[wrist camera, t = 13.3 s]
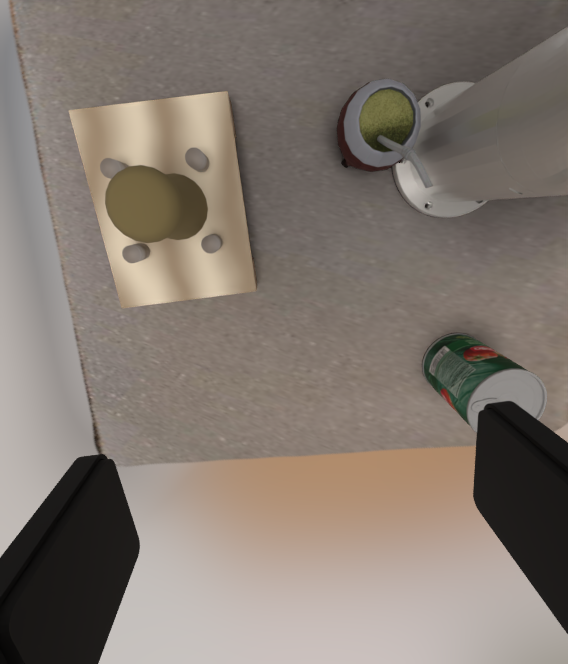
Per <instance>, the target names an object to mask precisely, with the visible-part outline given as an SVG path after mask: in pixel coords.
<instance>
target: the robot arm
mask: <svg viewBox="0 0 568 664" xmlns="http://www.w3.org/2000/svg"><path fill="white" fill-rule="evenodd" d="M425 103H427V104H428V107H426V106H425ZM418 105H419V107H420V111H421V128H420V131H419V134H418V137H417V140H416V143H415V144H414V146H413V147H412V148H413V149H414V150H415V152H416V155H417V156H418V158H419V159H420V161H421V162H422V164H423V166H424V168H425V170H426V172H427V174H428V176H429V178H430V180H431V182H432V184H433V186H432V187H429V188H425V186H424V184H423V182H422V180H421V178H420V176H419V174H418V172H417V171H416V169H415V167H414V166H413V164H412V163H411V161H407V160H406V159H403V160H402V161H401V163H399V162H398V163H397V164H395V165H393V166H392V169H393V176H394V179H395V182H396V185H397V188H398V190H399V191H400V193H401V195H402V196H403V198H404V199H405V200H406V201H407V202H408V203H409V204H410V206H412V207H413V208H415V209H416V210H417V211H419V212H421V213H423V214H426V215H428V216H433V217H438V218H450V217H458V216H462V215H465V214H468V213H470V212H472V211H474V210H476V209H478V208H480V207H481V206H482V205H484V204H485V203H486V202H487V201H489V200H498V199H514V198H530V197H547V196H561V195H568V27H566V28H564V29H563V30H561V31H560V32H558V33H556V34H555V35H553V36H551V37H550V38H548V39H547V40H545V41H544V42H542V43H540V44H539V45H537V46H535V47H534V48H532V49H531V50H529V51H527V52H526V53H524V54H523V55H521V56H519V57H518V58H516V59H514V60H513V61H511V62H510V63H508V64H506V65H505V66H503V67H502V68H500V69H498V70H497V71H495V72H493V73H492V74H490V75H489V76H487V77H485V78H484V79H482V80H481V81H479V82H477V83H473V82H454V83H450V84H446V85H443V86H441V87H439V88H437V89H435V90H433V91H431V92H430V93H428V94H427V95H425V96H424V97H423V98H422V99H421V100H419V101H418ZM425 203H426V204H427V207H426V208H425ZM473 492H474V493H473V497H474V501H475V504H476V506H477V508H478V510H479V511H480V513H481V514H482V516H483V517H484V519H485V520H486V521H487V523H488V524H489V526H490V527H491V528H492V530H493V531H494V532H495V534H496V535H497V537H498V538H499V539H500V541H501V542H502V543H503V545H504V546H505V548H506V549H507V550H508V552H509V553H510V555H511V556H512V557H513V559H514V560H515V561H516V563H517V564H518V566H519V567H520V569H521V570H522V571H523V573H524V574H525V575H526V577H527V578H528V580H529V581H530V582H531V584H532V585H533V587H534V588H535V589H536V591H537V592H538V593H539V595H540V596H541V598H542V599H543V600H544V602H545V603H546V605H547V606H548V607H549V609H550V610H551V612H552V613H553V614H554V616H555V617H556V618H557V620H558V621H559V623H560V624H561V626H562V627H563V628H564V630H565V631H566V633H567V634H568V443H567V442H566V441H565V440H564V439H562V438H561V437H560V436H558V435H557V434H555V433H554V432H553V431H552V430H550V429H549V428H548V427H546V426H545V425H544V424H542V423H541V422H540V421H538V420H537V419H536V418H534V417H533V416H532V415H530V414H529V413H528V412H526V411H525V410H524V409H523V408H521V407H520V406H519V405H517V404H516V403H514V402H512V401H503V402H496V403H488V404H486V405H485V407H484V410H481V411H480V412H479V413H478V424H477V441H476V458H475V474H474V491H473ZM139 549H140V543H139V537H138V535H137V531H136V528H135V525H134V522H133V518H132V516H131V512H130V509H129V506H128V503H127V500H126V497H125V494H124V490H123V487H122V484H121V481H120V478H119V475H118V472H117V469H116V466H115V463H114V461H113V460H112V459H108V458H107V457H106V456H105V455H103V454H99V455H91V456H84V457H79V458H77V459H76V460H75V461H74V463H73V464H72V465H71V467H70V468H69V469H68V471H67V472H66V473H65V475H64V476H63V477H62V478H61V480H60V481H59V483H57V485H56V486H55V488H54V489H53V490H52V491H51V493H50V494H49V495H48V496H47V498H46V499H45V501H44V502H43V503H42V504H41V506H40V507H39V508H38V510H37V511H36V512H35V513H34V515H33V516H32V517H31V519H30V520H29V521H28V522H27V524H26V525H25V526H24V528H23V529H22V530H21V532H20V533H19V534H18V535H17V537H16V538H15V539H14V541H13V542H12V543H11V545H10V546H9V547H8V549H7V550H6V551H5V552H4V554H3V555H2V556H1V558H0V664H98V663H99V660H100V657H101V655H102V652H103V649H104V646H105V644H106V641H107V638H108V636H109V633H110V630H111V628H112V625H113V622H114V620H115V617H116V614H117V611H118V609H119V606H120V603H121V601H122V598H123V595H124V593H125V590H126V587H127V585H128V582H129V579H130V576H131V574H132V571H133V568H134V565H135V563H136V560H137V558H138V554H139Z"/></svg>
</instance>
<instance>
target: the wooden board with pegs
mask: <svg viewBox="0 0 568 664" xmlns="http://www.w3.org/2000/svg"><path fill="white" fill-rule="evenodd" d="M69 114H70V118H71V121H72V125H73V129H74V133H75V136H76V140H77V144H78V147H79V151H80V155H81V159H82V162H83V166H84V170H85V173H86V177H87V181H88V185H89V188H90V192H91V196H92V199H93V203H94V207H95V210H96V214H97V218H98V222H99V225H100V229H101V233H102V236H103V240H104V244H105V248H106V251H107V255H108V259H109V262H110V266H111V270H112V274H113V277H114V281H115V285H116V288H117V292H118V296H119V299H120V303H121V307H122V308H128V307H136V306H143V305H151V304H159V303H167V302H175V301H183V300H191V299H199V298H207V297H214V296H222V295H230V294H238V293H246V292H254V291H256V290H257V279H256V272H255V265H254V258H252V254H251V247H250V240H249V234H248V227H247V220H246V213H245V206H244V199H243V192H242V185H241V178H240V171H239V164H238V157H237V150H236V144H235V138H236V133H235V126H234V119H233V112H232V105H231V101H230V98H229V95H228V91H224V92H216V93H207V94H199V95H191V96H183V97H174V98H166V99H158V100H150V101H141V102H133V103H125V104H116V105H108V106H100V107H92V108H83V109H75V110H69ZM137 165H144V166H148V167H153V168H155V169H157V170H159V171H161V172H162V173H164V174H172V173H176V174H180V175H185V176H186V177H188V178H190V179H192V180H193V181H194V182H195V183H196V184H197V185H198V186H199V187H200V188H201V189H202V191H203V193H204V195H205V197H206V201H207V206H208V212H207V219H206V221H205V224H204V226H203V228H202V229H201V230H200V231H199V232H198V233H197V234H196V235H194V236H192V237H190V238H188V239H182V240H175V239H169V238H166V239H164V240H162V241H159V242H153V243H144V242H138V241H135V240H133V239H131V238H129V237H127V236H125V235H124V234H122V233H121V232H120V231H119V230H118V229H117V228H116V227H115V226H114V224H113V223H112V221H111V219H110V218H109V216H108V213H107V209H106V205H105V193H106V189H107V187H108V184H109V182H110V180H111V179H112V178H113V177H114V176H115V175H116V173H118V172H119V171H121V170H123V169H125V168H127V167H129V166H137Z"/></svg>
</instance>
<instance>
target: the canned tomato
mask: <svg viewBox="0 0 568 664" xmlns="http://www.w3.org/2000/svg"><path fill="white" fill-rule="evenodd" d="M422 371H423V375H424V377H425V379H426V381H427V382H428V383H429V384H430V385H431V386H432V387H433V388H434V389H435V390H436V391H437V392H438V393H439V394H440V395H441V396H442V397H443V398H444V399H445V400H446V401H447V402H448V404H449V405H450V406H451V407H452V408H453V409H454V410H455V411H456V412H457V413H458V414H459V415H460V416H461V417H462V418H463V419H464V420H465V421H466V422H467V423H468V424H469V425H470V426H471V428H472V429H473V430H474V431H475V432H476V433H477V424H478V413H479V412H480V411H481V410H484V407H485V405H486V404H488V403H496V402H503V401H512V402H514V403H516V404H517V405H519V406H520V407H521V408H523V409H524V410H525V411H526V412H528V413H529V414H530V415H532V416H533V417H534V418H536V419H537V420H539V419H540V417H541V416H542V414H543V412H544V410H545V406H546V403H547V392H546V388H545V386H544V383H543V382H542V381H541V379H540V378H539V377H538V376H536V375H535V374H534V373H532V372H530V371H528V370H526V369H524V368H523V367H522V366H520V365H518V364H516V363H515V362H513V361H511V360H510V359H508V358H507V357H505V356H503V355H502V354H500V353H498V352H497V351H495V350H493V349H491V348H490V347H488V346H486V345H485V344H483V343H481V342H480V341H478V340H476V339H475V338H474V337H472V336H470V335H468V334H463V333H453V334H448V335H446V336H443V337H441V338H439V339H438V340H436V341H435V342H434V343H433V344H432V345H431V346H430V347H429V348H428V350H427V352H426V353H425V356H424V358H423V363H422Z"/></svg>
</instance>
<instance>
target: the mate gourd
mask: <svg viewBox="0 0 568 664" xmlns="http://www.w3.org/2000/svg"><path fill="white" fill-rule="evenodd" d="M420 128H421V111H420V107H419V105H418V102H417V100H416V97H415V95H414V93H412V92H411V91H410V90H409V89H408V88H407V87H406V86H405V85H404V84H403V83H400V82H397V81H394V80H391V79H382V80H376V81H372V82H369V83H367V84H366V85H364V86H363V87H361V88H360V89H358V90H357V91H355V92H354V93H353V94H352V95H351V96H350V98H349V99H348V101H347V102H346V104H345V105H344V107H343V108H342V110H341V113H340V118H339V119H338V126H337V137H338V145H339V148H340V150H341V152H342V154H343V156H344V160H343V161H342V165H343V166H344V167H346V168H347V167H348V166H352V167H355V168H358V169H362V170H366V171H370V172H373V171H379V170H386V169H388V168H390V167H392V166H393V165H395V164H397V163H398V162H400V161H401V160H403V159H406V160H407V161H411V163H412V164H413V166H414V167H415V169H416V171H417V172H418V174H419V176H420V178H421V180H422V182H423V184H424V186H425V188H429V187H432V186H433V184H432V182H431V180H430V178H429V176H428V174H427V172H426V170H425V168H424V166H423V164H422V162H421V161H420V159H419V158H418V156H417V155H416V152H415V150H414V149H413V148H412V147H413V146H414V144H415V143H416V140H417V137H418V134H419V131H420Z"/></svg>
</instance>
